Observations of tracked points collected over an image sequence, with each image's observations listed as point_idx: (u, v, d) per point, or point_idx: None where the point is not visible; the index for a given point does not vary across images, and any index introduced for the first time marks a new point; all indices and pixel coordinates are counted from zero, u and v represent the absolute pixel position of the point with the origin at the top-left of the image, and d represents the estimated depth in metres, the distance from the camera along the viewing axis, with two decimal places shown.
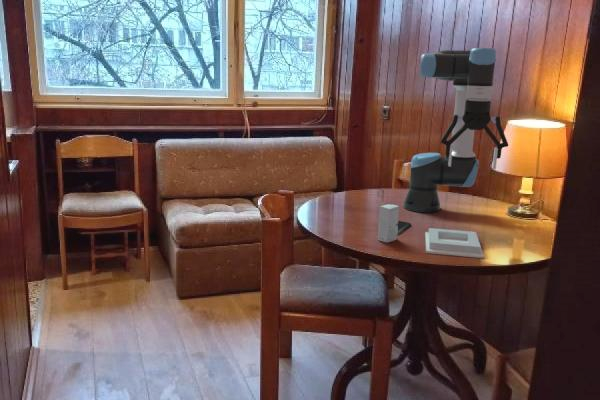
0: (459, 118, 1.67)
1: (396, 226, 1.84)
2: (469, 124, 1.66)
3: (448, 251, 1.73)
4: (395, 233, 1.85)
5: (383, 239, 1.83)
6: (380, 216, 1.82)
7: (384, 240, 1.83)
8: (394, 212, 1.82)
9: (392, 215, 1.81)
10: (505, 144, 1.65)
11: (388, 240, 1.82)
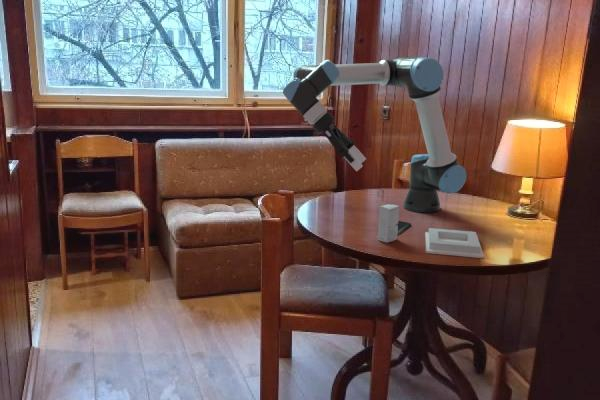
0: None
1: (396, 226, 1.84)
2: None
3: (448, 251, 1.73)
4: (395, 233, 1.85)
5: (383, 239, 1.83)
6: (380, 216, 1.82)
7: (384, 240, 1.83)
8: (394, 212, 1.82)
9: (392, 215, 1.81)
10: None
11: (388, 240, 1.82)
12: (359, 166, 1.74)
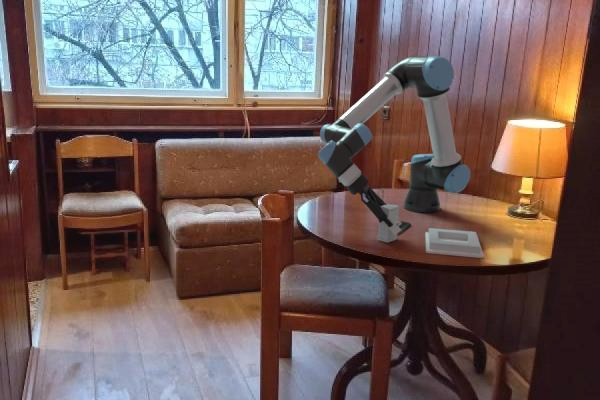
0: None
1: None
2: None
3: (448, 251, 1.73)
4: None
5: (383, 239, 1.83)
6: None
7: (384, 240, 1.83)
8: (394, 212, 1.82)
9: (392, 215, 1.81)
10: None
11: (388, 240, 1.82)
12: (397, 230, 1.80)
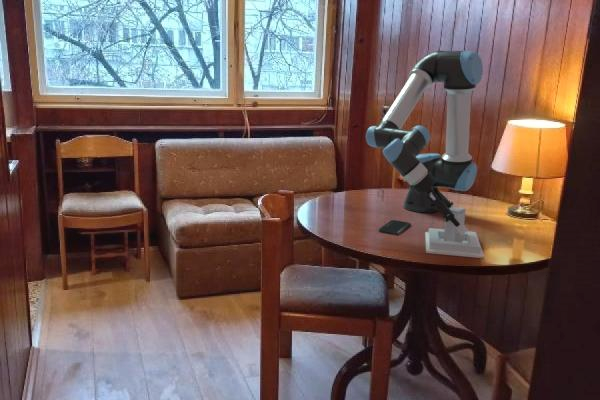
0: None
1: None
2: None
3: (448, 251, 1.73)
4: (461, 236, 1.80)
5: None
6: None
7: None
8: (460, 214, 1.78)
9: (459, 217, 1.77)
10: None
11: None
12: (464, 230, 1.73)
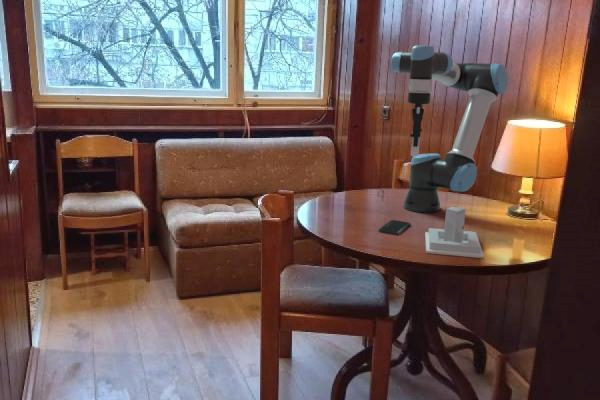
0: None
1: (462, 229, 1.80)
2: None
3: (448, 251, 1.73)
4: (461, 236, 1.80)
5: None
6: (446, 219, 1.78)
7: None
8: (460, 214, 1.78)
9: (459, 217, 1.77)
10: (412, 133, 1.80)
11: None
12: (416, 154, 1.83)
